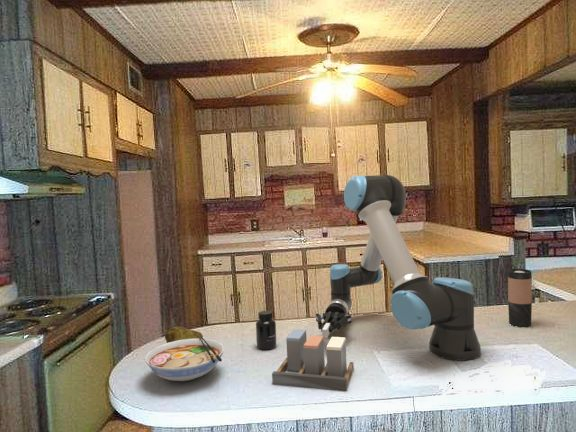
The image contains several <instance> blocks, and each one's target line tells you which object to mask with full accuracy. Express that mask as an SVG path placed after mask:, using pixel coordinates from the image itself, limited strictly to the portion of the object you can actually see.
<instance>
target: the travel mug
mask: <svg viewBox="0 0 576 432" xmlns="http://www.w3.org/2000/svg"><path fill="white" fill-rule="evenodd" d="M532 293H533V291H532V271H531V269H530V270H529V269H526V268H525V269H524V268H510V269H509V270H508V271H507V305H508V307H507V308H508V323H509V325H510V324H511V325H510V326H512V325H513V326H512V327H515V326H517V327H516V328H521V327H526V328H530V327H531V326H532V315H533V314H532V313H533V312H532V310H533V309H532V308H533V307H532V306H533V298H532V296H533V294H532ZM529 326H530V327H529Z"/></svg>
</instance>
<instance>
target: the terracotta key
mask: <svg viewBox="0 0 576 432" xmlns="http://www.w3.org/2000/svg"><path fill="white" fill-rule="evenodd" d="M325 366H326V363H325V338H324V336H322V335H310V336H309V337H308V338H307V341H306V342H305V344H304V367H305V374H312V375H321V374H322V372H323V370H324V368H325Z"/></svg>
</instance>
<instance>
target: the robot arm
mask: <svg viewBox="0 0 576 432" xmlns="http://www.w3.org/2000/svg"><path fill="white" fill-rule="evenodd" d="M406 196H407V195H406V189H405V186H404V184H403V183H402V181H400V180H399V179H398V178H397V177H396V176H394V175H390V174H376V175H356V176H352V177H351V178H350V179H349V180H348V181H347V183H346V185H345V187H344V192H343V200H344V204H345V206H346V208H347V209H348V210H349V211H352V212H355V213H356V214H357V216H358V218H359V219H360V220H361V221H364V222H365V224H366V225H367V227H368V229H369V233H370V234H369V237H368V240H367V243H366V246H365V249H364V252H363V255H362V259H361V260H360V264H359V266H358V267H352V268H350V266H349V265H348V264H344V263H343V264H341V263H340V264H337V263H336V264H332V265H331V266H330V269H329V281H330V303H329V304H328V306H327V308H326V309H325V312H323V313H322V314H320V313H315V321H316V323H317V327H318V330H320V332H321V336H324V339H328V337H329V336H330V333H333V332H334V331H335V330H336V331H340V330H342V329H344V328H345V327H346V326H347V325H348V324H351V323H352V315H351V314H348V313H349V311H350V310H351V307H352V306H353V305H352V303H353V301H352V298H351V289H352V288H356V287H362V286H363V287H364V286H368V285H369V286H370V285H374V284H378V283H380V281H382V278H383V275H382V274H383V272H382V269H381V267H380V266H381V263H382V260H383V263H384V265H385V267H386V270H387V272H388V275H389V276H390V278H391V281H392V283H393V286H392V289H391V293H392V295H391V298H390V310H391V312H392V315H393V317H394V319H395V320H396V322H398V324H399V325H401V326H402V327H403V328H406V329H407V330H423V329H426V328H428V327H432V326H434V327H433V330H432V332H431V337H430V338H429V343H428V344H429V345H428V346H429V348H428V349H429V350H428V351H431V352H432V353H431V352H430V353H431V354H432V355H434V354H435V355H434V356H436V355H437V356H436V357H438V356H439V357H438V358H441V357H443V358H442V359H445V358H446V359H445V360H452V361H470V360H475V359H478V358H479V357H480V356H481V353H482V352H481V351H482V350H481V345H480V342H479V338H478V336H477V333H476V329H475V315H474V313H475V306H474V305H475V301H474V300H475V294H474V285H473V283H472V282H470V281H468V280H465V279H460V278H452V277H434V278H433V281H432V284H431V281H430V279H429V278H428V276H427V275H423V274H422V273H420V271H419V269H418V267H417V265H416V263H415V261H414V259H413V257H412V254H411V252H410V251H409V248H408V246H407V244H406V242H405V240H404V238H403V236H402V234H401V231H400V229H399V228H398V226H397V224H396V223H397V222H398V221H397V220H398V219H399V217H401V216H402V215H403V213H404V210H405V206H406V202H407V197H406ZM322 320H323V321H322Z"/></svg>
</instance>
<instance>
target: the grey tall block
mask: <svg viewBox="0 0 576 432" xmlns="http://www.w3.org/2000/svg"><path fill="white" fill-rule="evenodd" d="M346 340H347V338H346V337H343V336H342V337H341V336H331V338H330V339H329V341H328V343H327V345H326V364H327V373H328V376H336V377H345V374H346V371H347V369H348V367H347V366H348V365H347V344H346V342H347V341H346Z"/></svg>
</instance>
